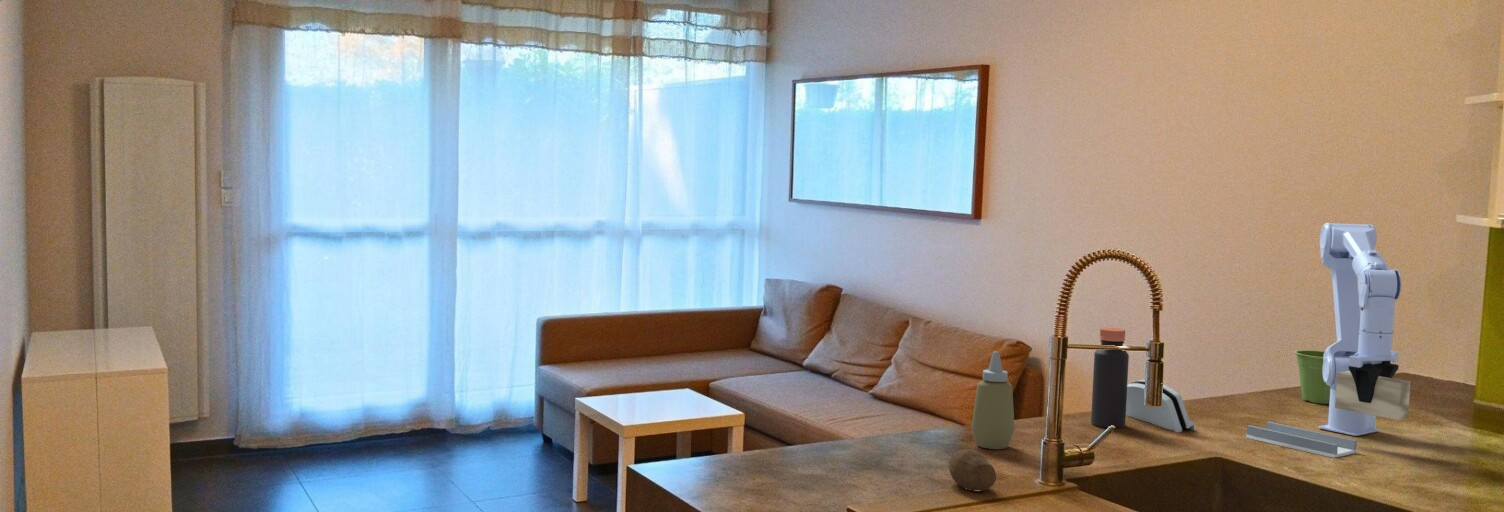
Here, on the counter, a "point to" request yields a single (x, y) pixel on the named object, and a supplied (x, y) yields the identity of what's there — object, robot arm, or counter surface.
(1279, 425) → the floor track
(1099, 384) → the dark grey water bottle
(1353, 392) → the door panel
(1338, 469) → the counter surface
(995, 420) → the squeeze bottle
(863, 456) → the counter surface
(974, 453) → the potato
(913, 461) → the counter surface
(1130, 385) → the light blue curved block
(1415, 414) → the counter surface
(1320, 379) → the plant pot
